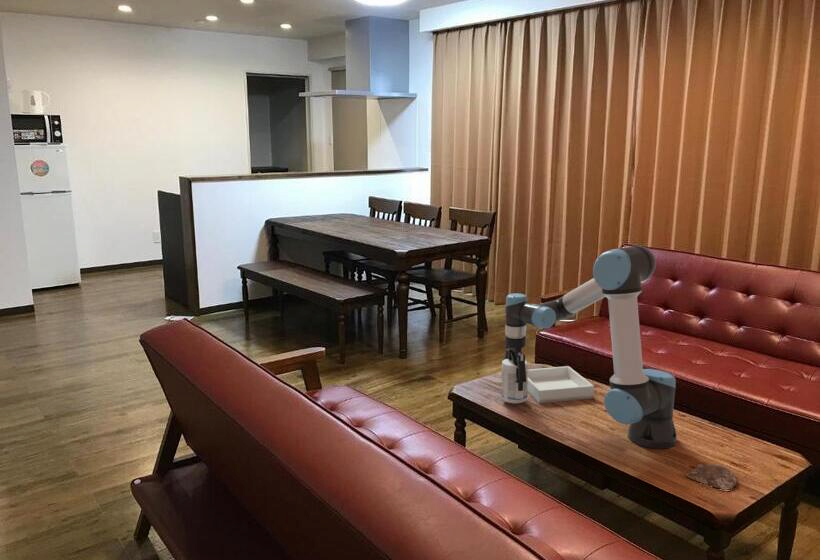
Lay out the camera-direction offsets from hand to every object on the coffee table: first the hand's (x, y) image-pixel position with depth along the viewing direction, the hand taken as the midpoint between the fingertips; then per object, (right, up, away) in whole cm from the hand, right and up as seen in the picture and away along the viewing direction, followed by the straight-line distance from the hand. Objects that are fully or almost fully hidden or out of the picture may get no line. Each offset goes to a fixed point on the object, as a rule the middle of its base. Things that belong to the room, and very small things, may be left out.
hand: (514, 393), depth 245 cm
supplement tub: (0, -3, +1) cm, 3 cm away
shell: (+50, -16, -54) cm, 75 cm away
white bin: (+18, -1, +13) cm, 22 cm away
